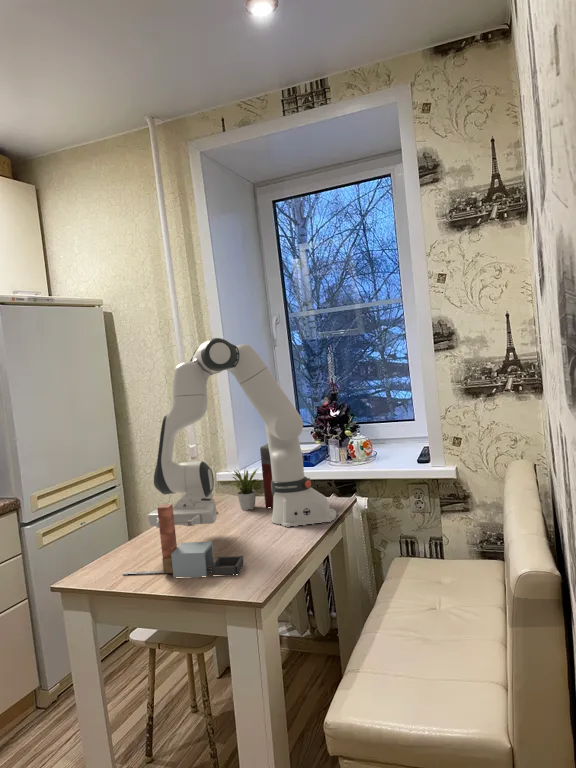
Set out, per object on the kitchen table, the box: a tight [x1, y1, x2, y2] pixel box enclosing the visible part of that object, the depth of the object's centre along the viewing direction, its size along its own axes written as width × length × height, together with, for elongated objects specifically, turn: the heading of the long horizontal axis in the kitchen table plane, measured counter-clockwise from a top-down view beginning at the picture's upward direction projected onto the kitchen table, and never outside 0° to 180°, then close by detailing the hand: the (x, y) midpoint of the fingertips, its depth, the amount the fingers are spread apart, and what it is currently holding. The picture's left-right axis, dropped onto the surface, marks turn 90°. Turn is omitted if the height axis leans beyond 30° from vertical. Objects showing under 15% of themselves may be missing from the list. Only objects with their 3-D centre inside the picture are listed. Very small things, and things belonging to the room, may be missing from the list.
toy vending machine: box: [259, 443, 273, 509], centre depth 225 cm, size 9×11×28 cm
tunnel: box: [171, 540, 215, 579], centre depth 165 cm, size 9×9×7 cm
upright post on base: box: [156, 503, 178, 573], centre depth 165 cm, size 10×4×18 cm, turn 82°
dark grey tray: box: [210, 555, 245, 577], centre depth 164 cm, size 7×8×2 cm
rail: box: [122, 568, 212, 576], centre depth 166 cm, size 26×1×1 cm, turn 82°
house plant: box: [224, 465, 260, 511], centre depth 225 cm, size 14×14×16 cm
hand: (174, 524), depth 172 cm, fingers open, 8 cm apart
